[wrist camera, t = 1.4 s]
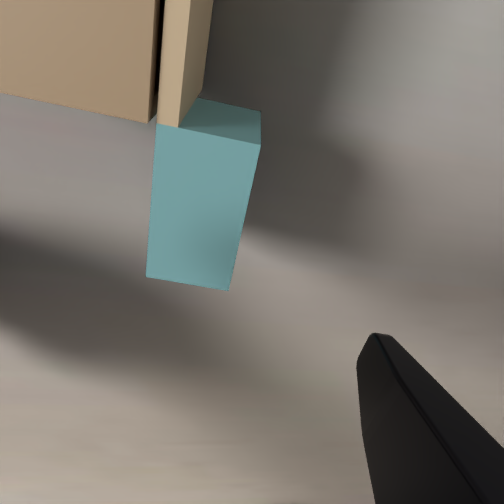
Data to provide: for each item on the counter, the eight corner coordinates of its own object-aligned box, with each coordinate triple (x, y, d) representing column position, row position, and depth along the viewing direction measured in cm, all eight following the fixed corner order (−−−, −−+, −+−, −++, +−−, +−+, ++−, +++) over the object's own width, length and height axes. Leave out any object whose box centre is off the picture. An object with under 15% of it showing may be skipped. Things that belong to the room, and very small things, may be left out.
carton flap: (236, 219, 19) (228, 291, 14) (174, 207, 18) (145, 276, 14) (368, -411, 9) (475, -816, 5) (245, -456, 9) (230, -934, 4)
